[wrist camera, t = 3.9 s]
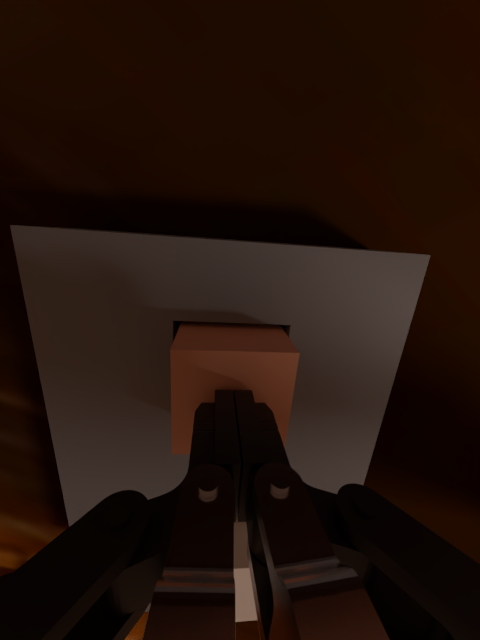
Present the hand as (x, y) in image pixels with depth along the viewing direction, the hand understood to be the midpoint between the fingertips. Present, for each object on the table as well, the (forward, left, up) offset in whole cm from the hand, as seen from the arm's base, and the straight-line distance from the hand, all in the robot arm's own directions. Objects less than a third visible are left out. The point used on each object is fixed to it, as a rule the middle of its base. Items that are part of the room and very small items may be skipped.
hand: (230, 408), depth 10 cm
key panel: (0, +7, -8) cm, 10 cm away
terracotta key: (0, 0, -4) cm, 4 cm away
